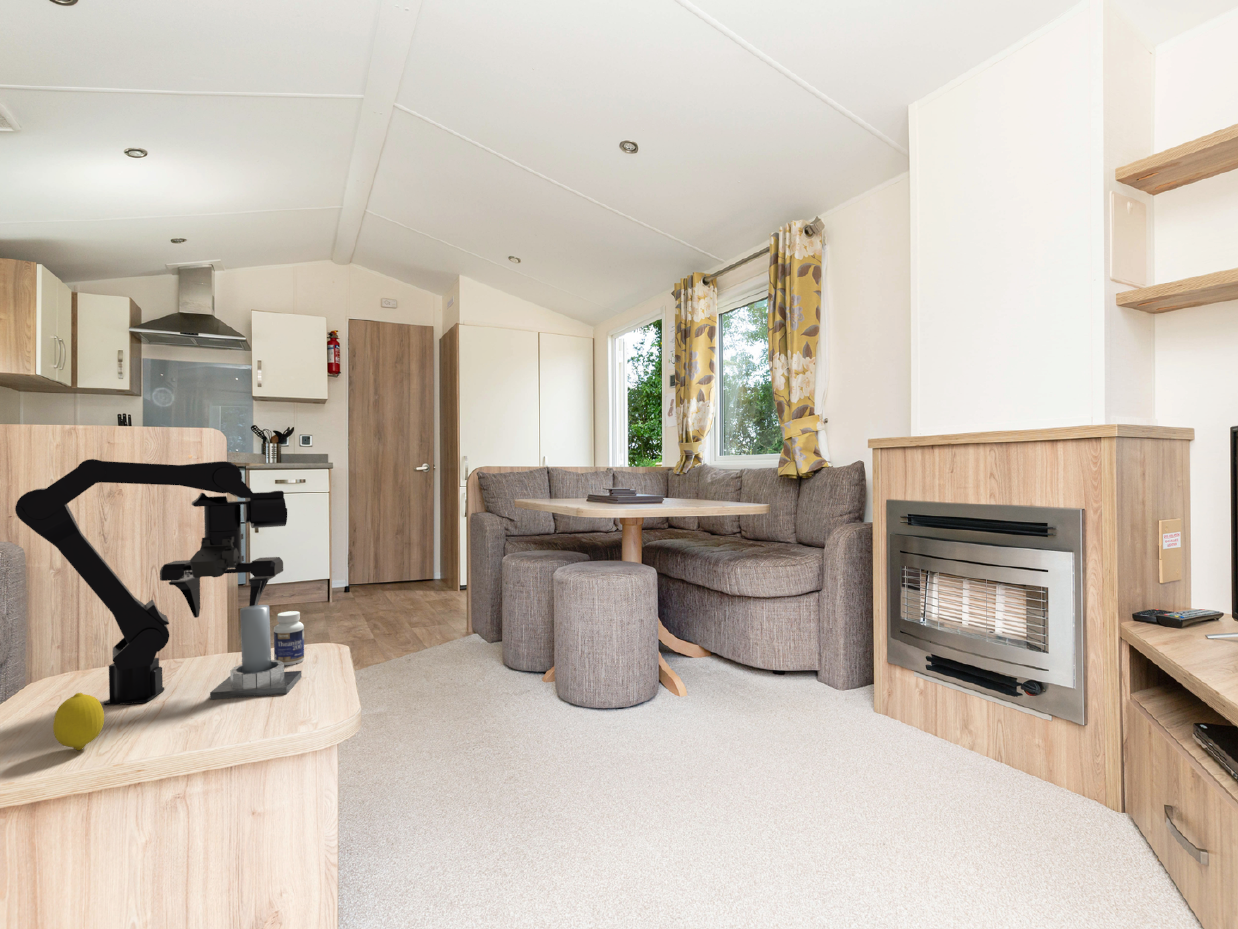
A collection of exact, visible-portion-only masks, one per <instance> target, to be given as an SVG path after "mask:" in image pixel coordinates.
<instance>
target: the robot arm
mask: <svg viewBox="0 0 1238 929" xmlns="http://www.w3.org/2000/svg"><path fill="white" fill-rule="evenodd" d="M99 483H105V484H106V483H107V484H132V485H134V484H135V485H136V484H137V485H158V486H159V485H161V486H181V487H187V488H191V489H196V490H202V491H207V492H213V493H218V494H230V495H231V496H233V497H236V498H240V499H246V500H237V501H236V500H234V501H233V500H232V501H228V497H227V496H226V495H221V496H220V495H219V496H217V495H216V496H207V495H206V493H204V492H201V493H200V494H199V495H198V497H197V498H196V499H195V500H193V501H191V506H193V507H194V508H195V507H203V508H204V509H203V510H204V511H203V512H204V514H203V515H204V516H203V517H204V518H203V519H204V536H203V537H202V538H201V542H200V543H201V544H200V545H201V546H200V549H199V550H197V551H196V552H195V553H194V555H193V556H192V557H191V558H190V559H187V560H183V559H182V560H174V561H171V562H168V563H164V564H163V565H162V566H161V568H160V570H159V580H160V581H162V582H164V581H165V582H166V581H168V585H170V586H174V587H176V588H177V589H179V590H180V592H181V594H182V595H183V597H184V598H185V600H186V602H187V604H188V607H189V609H190V611H191V613H192V615H193V618H195V619H197V618H199V617H200V610H201V578H202V577H212V578H218V577H222V576H224V574H245V573H248V574H249V573H250V574H251V575H252V576H253V577H250V578H249V579H248V582H249V586H250V592H249V605H248V606H254V605H259V603H260V599H261V597H262V594H263V592H264V590H265V588H266V586H267V584H268V583H269V581H270V580H271V579H273V578H274V577H276V576H277V575H279V574H280V573H282V572H284V561H283V559H282V558H281V557H280V556H268V557H259V558H256V559H253V560H251V561H250V562H244V560H245V559H244V558H245V557H244V555H242V540H244V533H242V515H243V522H244V524H250V528H251V529H260V528H262V529H263V528H274V527H275V528H278V527H286V526H287V522H288V508H287V504H286V500H285V496H284V495H285V494H284V493H285V492H284V491H283V490H273V491H267V492H264V491H262V492H261V491H259V492H253V491H252V490H251V489H252V488H250V487H248V486H247V484H246V483H245V482H244V481H243V475H242V471H241V469H240V468H239V467H238V466H237V464H235V463H233V462H229V461H227V460H226V461H224V460H223V461H222V460H221V461H211V462H199V463H198V462H197V463H189V464H168V463H167V464H166V463H165V464H162V463H147V462H146V463H145V462H142V463H141V462H128V461H127V462H123V461H107V460H99V459H94V458H91V459H86V460H83V461H82V462H80V463H79V464H78V466H77V467H76V468H74V469H72V470H71V471H70V472H68V473H67V474H65V475H64V476H62V477H61V478H59V479H58V480H57V481H56V480H55V481H54V482H53V483H52V484H50V485H49V486H47V487H45V488H36V489H33V490H30V491H27V492H26V493H24V494H22V495H21V496H20V497H19V498H18V500H17V501H16V505H15V508H14V509H15V514H16V516H17V517H18V519H19V520H20V521H21V522H23V523H24V525H26V526H27V527H29V528H30V529H31V530H32V531H34V533H36V534H38V535H39V536H41V537H42V538H43V539H45V540H46V541H47V542H49V543H51V544H52V545H53V546H54V547H56V548H57V550H58V551H59V552H60V553H61V555H62V556H63V557H64V558H65V559H66V560H67V562H68V563H69V564H70V565H71V566H72V567H73V569H74V570H75V571H76V572H77V573H78V574H79V576H80V577H81V578H82V579H83V580H84V582H85V583H86V584H87V585H88V587H90V589H91V590H92V591H93V593H95V595H96V596H97V597H98V598H99V599H100V601H101V602H102V604H104V605H105V607H106V608H107V609H108V610H109V611H110V613H111V614H112V615H113V617H114V619H115V621H116V623H117V626H118V628H119V629H120V632H121V634H122V636H123V637H122V638H121V639H120V640H119V641H118V642H117V643H116V644H115V645H114V646H113V647H112V663H111V664H109V665H108V687H109V688H108V690H109V693H108V694H109V697H108V698H109V699H107V700H105V701H104V702H103V706H115V705H116V706H117V705H129V704H145V703H148V702H150V701H151V700H152V699H154V698H155V697H156V696H158V695H160V693H162V692H164V691H165V687H164V686H163V684H164V683H163V667H162V666H160V658H159V657H156V655H157V653H158V652H160V651H161V650H162V649H164V648H165V647H166V646H167V644H168V643H169V639H170V630H169V628H168V626H169V624H170V622H169V619H168V617H167V615H165V614H164V613H162V612H161V611H160V610H159V609H158V606H157V605H156V603H155V601H154V599H151V600H150V601H148V602H147V603H146V604H145V603H144V602H142V601H141V600H139V599H138V598H136V597H135V596H134V595H133V593H132V592H131V591H130V590H129V588H128V587H127V586H126V585H125V584H124V582H123V581H122V580H121V579H120V578H119V576H117V574H116V573H115V572H114V571H113V569H112V568H111V567H110V565H109V564H108V563H107V562H106V560H105V559H104V558H103V557H102V556H101V555H100V553H99V552H98V551H97V549H96V548H95V547H94V546H93V545H92V543H90V541H89V540H88V539H87V537H85V535H84V534H83V533H82V531H81V529H80V527H79V525H78V523H77V521H76V519H75V516H74V515H73V512H72V510H71V509H70V507H69V505H68V503H70V502H71V501H73V500H74V499H76V498H77V497H79V496H80V495H82V494H83V493H84V492H86V491H87V490H89V489H90V488H91V487H92V486H94V485H95V484H99ZM241 505H243V510H242V508H241V507H242V506H241ZM241 512H242V514H241Z"/></svg>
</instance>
